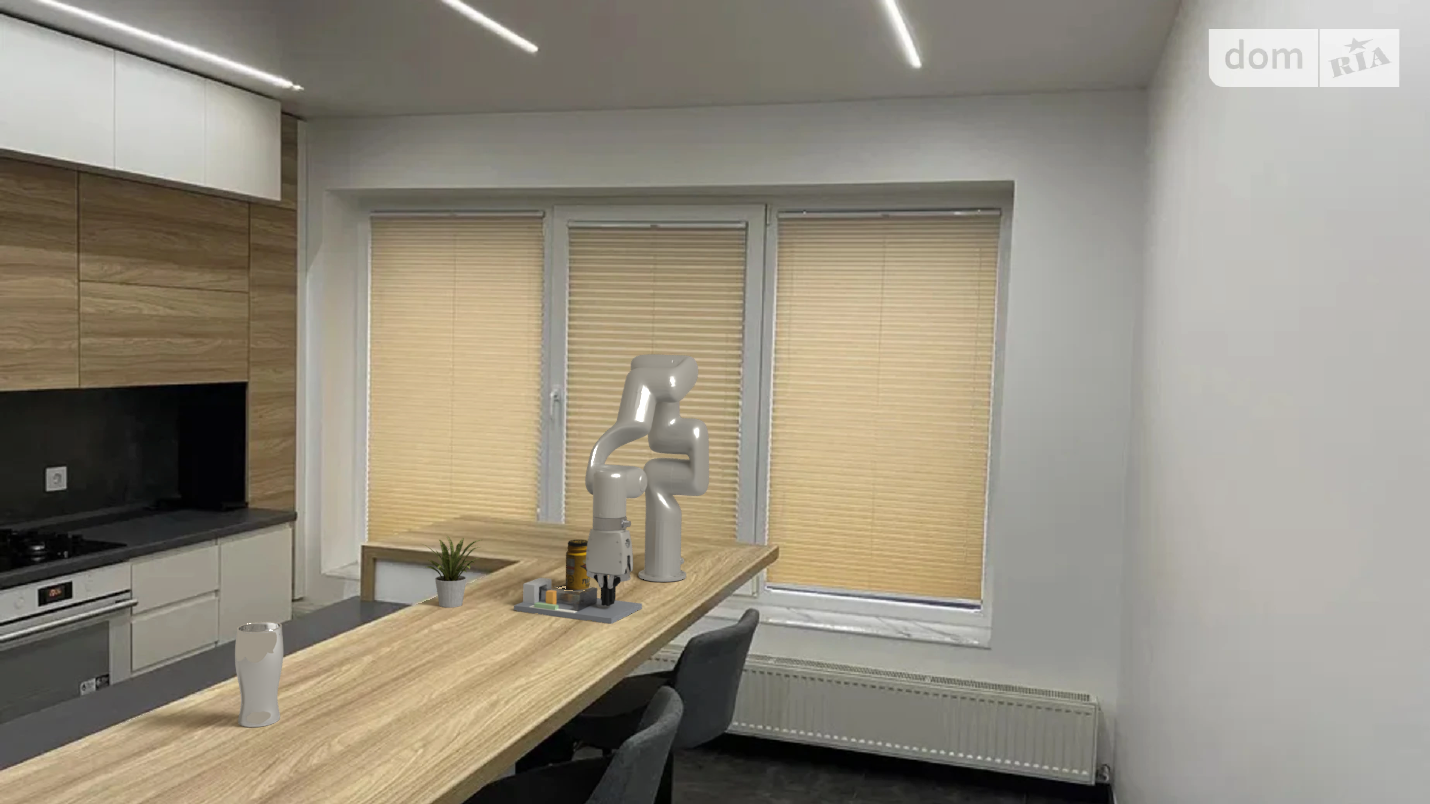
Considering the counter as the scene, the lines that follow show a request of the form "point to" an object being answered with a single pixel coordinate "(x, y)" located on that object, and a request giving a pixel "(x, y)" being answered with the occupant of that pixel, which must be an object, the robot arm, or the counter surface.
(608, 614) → the board
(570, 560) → the condiment
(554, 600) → the orange block
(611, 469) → the robot arm
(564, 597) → the plunger
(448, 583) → the house plant
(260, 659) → the beer glass
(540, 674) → the counter surface
